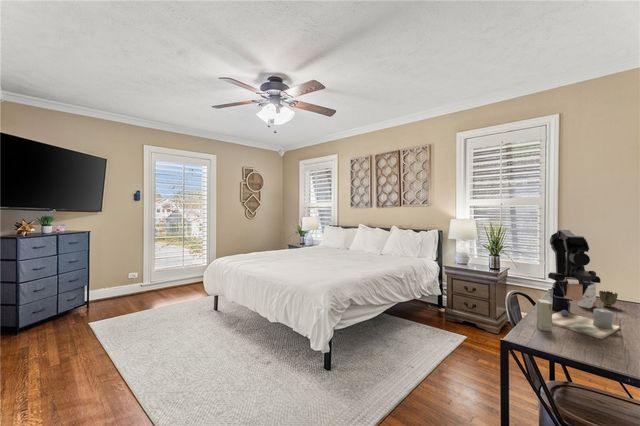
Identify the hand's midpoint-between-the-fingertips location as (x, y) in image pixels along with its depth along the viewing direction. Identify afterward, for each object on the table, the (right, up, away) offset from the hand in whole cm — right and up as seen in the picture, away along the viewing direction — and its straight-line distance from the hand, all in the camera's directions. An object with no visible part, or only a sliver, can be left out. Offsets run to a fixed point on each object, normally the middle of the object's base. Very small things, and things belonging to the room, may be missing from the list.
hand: (573, 295), depth 138 cm
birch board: (+2, -13, -1) cm, 13 cm away
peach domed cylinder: (0, -1, 0) cm, 1 cm away
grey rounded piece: (+9, -12, -5) cm, 16 cm away
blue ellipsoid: (+2, -10, +7) cm, 12 cm away
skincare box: (-19, -13, -6) cm, 24 cm away
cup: (+42, -13, +26) cm, 51 cm away
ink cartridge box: (+30, -13, +26) cm, 42 cm away
